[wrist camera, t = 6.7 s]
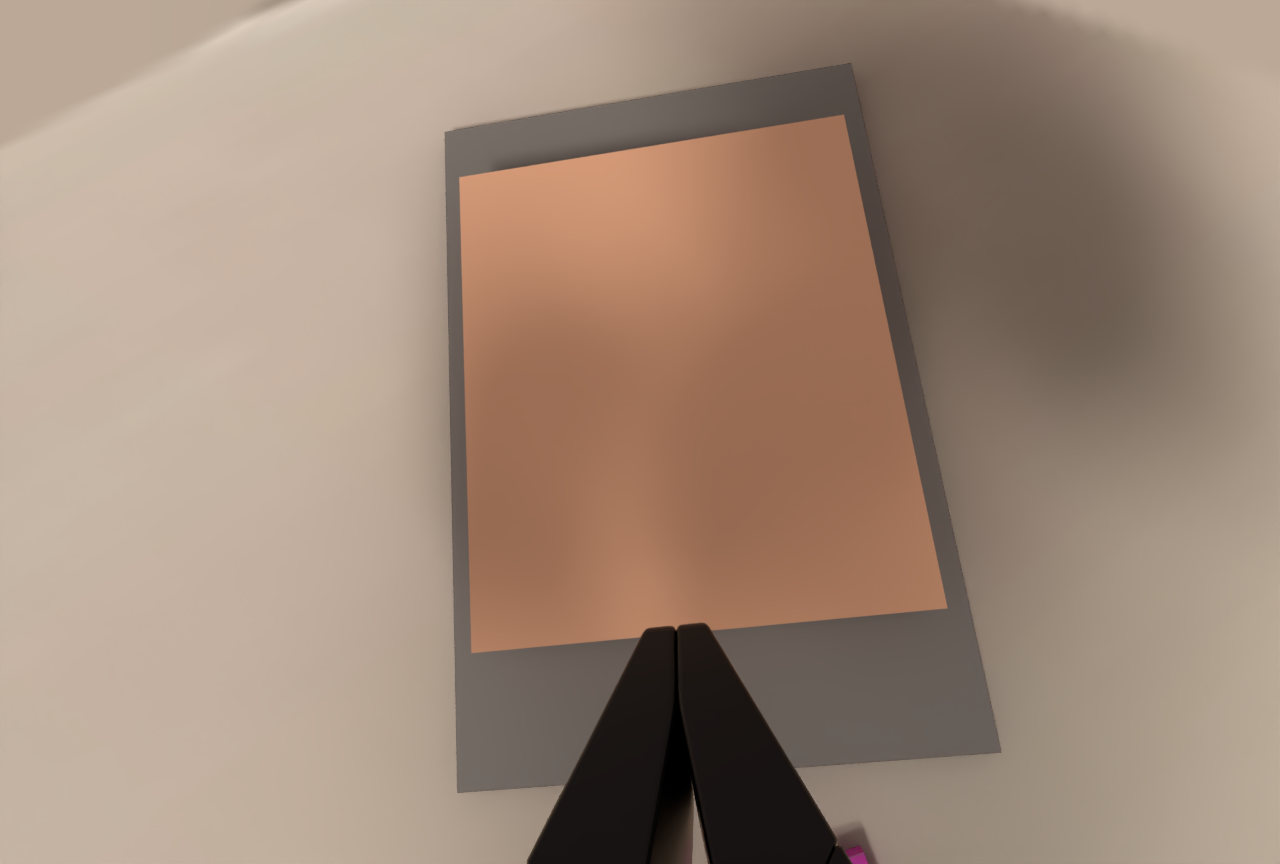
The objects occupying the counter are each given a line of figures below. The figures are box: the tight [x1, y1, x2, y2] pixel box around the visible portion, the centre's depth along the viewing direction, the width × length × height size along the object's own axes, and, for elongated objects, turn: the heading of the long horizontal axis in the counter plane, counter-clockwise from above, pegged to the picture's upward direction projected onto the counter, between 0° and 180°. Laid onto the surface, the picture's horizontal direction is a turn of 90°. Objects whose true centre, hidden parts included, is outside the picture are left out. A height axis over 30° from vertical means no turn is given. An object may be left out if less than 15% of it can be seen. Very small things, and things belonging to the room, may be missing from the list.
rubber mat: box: [445, 63, 1001, 793], centre depth 17 cm, size 18×12×1 cm, turn 5°
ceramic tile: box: [459, 115, 947, 653], centre depth 16 cm, size 2×10×12 cm
